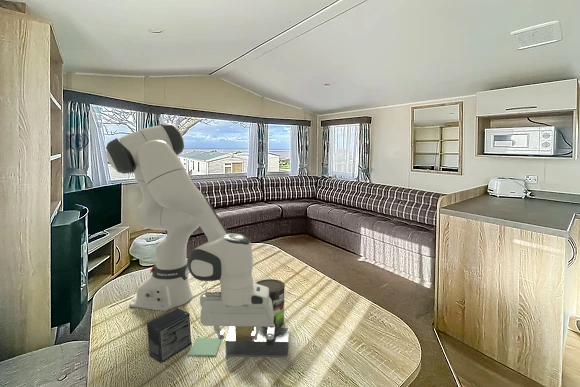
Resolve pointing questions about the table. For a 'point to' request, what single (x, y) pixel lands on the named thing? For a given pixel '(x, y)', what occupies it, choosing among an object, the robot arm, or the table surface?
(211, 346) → the mat
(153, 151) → the robot arm
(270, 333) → the lever
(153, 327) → the small box
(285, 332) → the body
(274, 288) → the coffee can
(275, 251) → the table surface
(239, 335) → the wooden cube with knob
